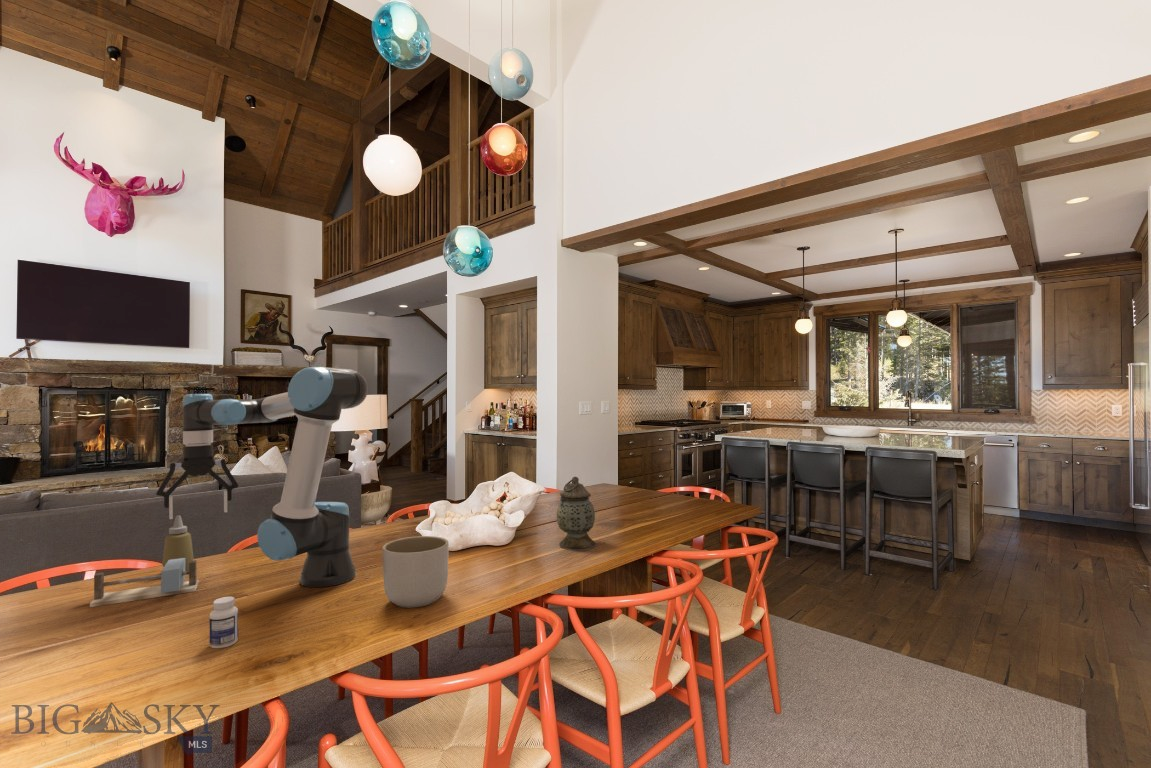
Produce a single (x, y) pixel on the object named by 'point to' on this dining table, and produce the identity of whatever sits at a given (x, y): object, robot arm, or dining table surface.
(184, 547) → the squeeze bottle
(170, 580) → the block
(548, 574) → the dining table surface
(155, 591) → the rail
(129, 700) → the dining table surface
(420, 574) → the planter
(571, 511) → the lantern
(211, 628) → the pill bottle
